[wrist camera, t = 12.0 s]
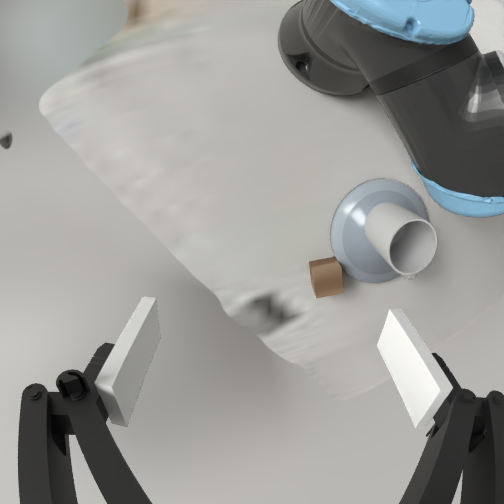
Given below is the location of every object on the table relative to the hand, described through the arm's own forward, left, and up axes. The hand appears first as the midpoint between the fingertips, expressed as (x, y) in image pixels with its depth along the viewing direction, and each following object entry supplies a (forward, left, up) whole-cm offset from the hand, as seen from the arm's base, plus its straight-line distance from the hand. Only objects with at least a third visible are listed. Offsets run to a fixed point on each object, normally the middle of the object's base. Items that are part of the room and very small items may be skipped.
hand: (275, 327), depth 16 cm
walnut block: (+9, +10, -27) cm, 30 cm away
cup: (+2, +19, -26) cm, 32 cm away
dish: (+2, +18, -27) cm, 32 cm away
